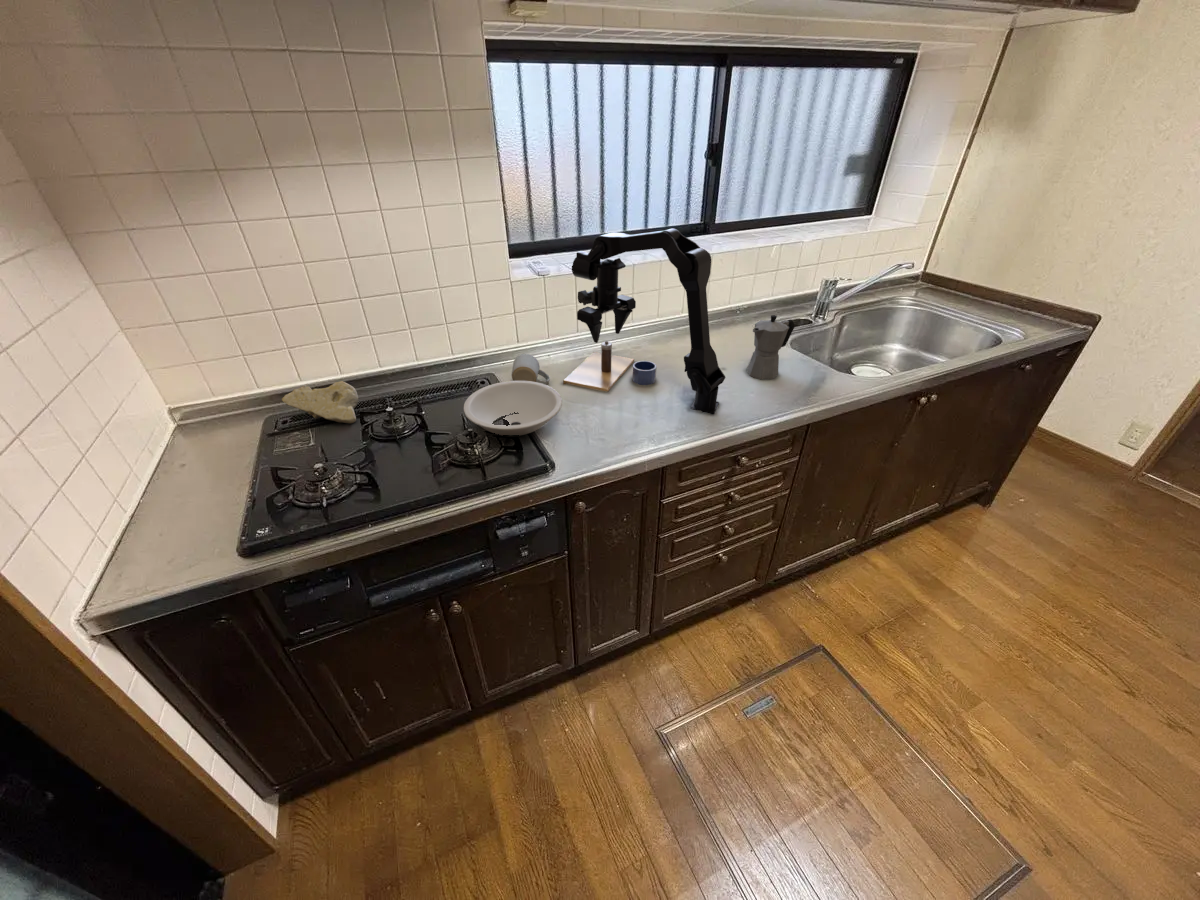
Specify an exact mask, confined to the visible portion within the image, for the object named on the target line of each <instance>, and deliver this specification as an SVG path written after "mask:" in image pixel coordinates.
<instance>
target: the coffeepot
mask: <svg viewBox="0 0 1200 900" xmlns="http://www.w3.org/2000/svg"><path fill="white" fill-rule="evenodd" d="M777 317H778V316H777V315H775V314H772V315H770V319H761V320H758V321H757V322H756V323H754V327H753V328H752V332H753V334H754V338H753V339H754V341H753V345H754V351H753V352H752V354H751V357H750V359H749V362H748V365H747V368H746V372H747V374H748V375H749V376H750V377H751V378H754V379H757V380H767V381H768V380H773V379H775V378H776V377H777V376H778V375H779V362H780V355H779V352H780V350H781V349H782V348H784V347H786V345H787V343H788V342H789V339H790V337H791V336H792V333H793V331H794V329H795V327H796V324H795V323H794V320H793V319H787V320H786V319H785V320H781V321H778V320H777Z"/></svg>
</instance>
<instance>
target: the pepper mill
mask: <svg viewBox="0 0 1200 900" xmlns="http://www.w3.org/2000/svg"><path fill="white" fill-rule="evenodd" d="M612 348H613V343H612V342H611V341H608V340H605V341H602V342H601V343H600V349H601V350H600V351H601V352H600V353H601V371H602V372H605V373H608V372H611V358H612V355H613V354H612V353H613V350H612Z"/></svg>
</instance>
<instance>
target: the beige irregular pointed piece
mask: <svg viewBox="0 0 1200 900" xmlns="http://www.w3.org/2000/svg"><path fill="white" fill-rule="evenodd" d="M308 385H309V383H306V384H304V385H302V386H300V387H299V388H293V390H292V391H291V392H289V393H287V394H285V395H284V396H283V397H281V401H282V402H283V403H284V404H285V405H288V406H289V407H293V408H295V409H298V410H300V411H303V412H305V413H308V415H310V416H312V417H313V419H319V418H324V419H325V420H328V421H333V422H336V423H345V424H354V423H356V422H357V416H356V413H355V408H356V407H357V406H358V403H359V395H358V392H357V389H356V388H355V387H354V386H352V385H351V384H349V383H347V382H345V381H342V380H341V381H336V382H333V383H332V384H330V385H329V386H327V387H323V388H313V389H312V388H311V387H310V386H308Z"/></svg>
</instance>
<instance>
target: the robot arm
mask: <svg viewBox="0 0 1200 900" xmlns="http://www.w3.org/2000/svg"><path fill="white" fill-rule="evenodd" d="M657 249H658V250H659V249H662V250H663V251H664V253H665V254H666V257H667V259H668V260H669V262H670V263H671V264H672V265H673V266H674V267H675V268H676V270H677V271H676V272H677V275H678V278H679V282H680V284H681V285H682V287H683V289H684V290H685V294H686V305H687V317H688V327H689V338H690V352H689V353H687V354H686V355H684V356H683V363H684V373H686V376H687V379H688V380H689V382H690V386H691V390H692V391H694V392H695V394H694V399H693V402H692V404H691V405H690V410H693V411H699V412H701V413H705V414H709V415H715V414H716V411H717V409H718V407H719V405H720V402H719V401H718V395H719V394H718V393H719V386H720V385H721V384H723V383H724V381H725V379H727V378H726V375H725V374H724V372H723V371H722V369H721V368H720V366H719V362H718V358H717V353H716V352H715V351H714V349H713V347H712V346H711V338H710V337H711V336H710V325H709V324H710V323H709V309H708V308H709V307H708V295H707V286H708V284H709V280H710V276H711V272H712V271H711V269H712V256H711V253H710V252H709V251H708V250H707V249H705V248H703V247H701V246H699V244H698V243H696V242H695V241H693V240H691V239H690V238H688V237H687V236H685V235H683V233H681V231H680V230H678V229H676V228H669V229H665V230H658V231H650V232H643V233H635V234H628V233H624V232H616V231H613V232H609V233H605V234H602V235H598V236H596V237H595V238H594V241H593V245H592V247H591V249H590V250H589V252H586V251H583V250H580V251H577V252H576V254H575V255H576V256H575V258H574V259H573V262H572V265H571V272H572V275H573V276H574V277H576V278H580V279H584V280H589V281H596V285H595V286H593V288H592V290H589V291H587V289H584V290H579V291H577V301H578V303H579V304H582V305H583V306H584V307H583V308H580V309H578V310H577V311H576V320H577V321H580V322H581V323H584V324H585V325H586V326H587V328H588V330H589V333H590V335H591V338H592V340H593V343H596V344H598V343H599V340H600V336H601V330H602V326H603V321H602V319H603V315H604V314H606V313H610V312H613V314H614V332H615V334H617V335H619V334H620V333H621V331H622V329H623V327H624V325H625V324H626V321H627V320H628V318H629V317H630V315H631V313H632V312H633V310H634V309H636V307H637V306H636V305H637V303H636V299H635V298H634V297H632V296H630V295H625V294H619V293H620V292H622V287H621V286H619V270H623V269H625V268H626V264H625V262H624V261H622V259H621V258H620V257H618V258H615V259H609V258H613V257H615V256H618V255H621V254H624V253H631V252H639V251H649V250H657ZM590 304H591V306H592V307H590V306H587V305H590ZM585 306H586V307H585ZM594 307H596V308H594Z"/></svg>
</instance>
